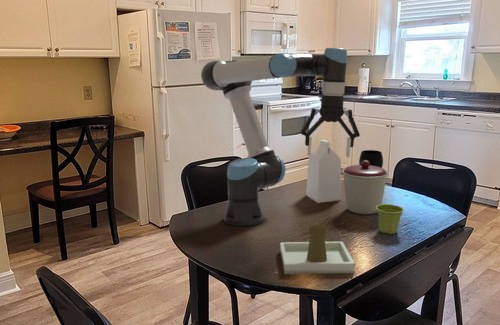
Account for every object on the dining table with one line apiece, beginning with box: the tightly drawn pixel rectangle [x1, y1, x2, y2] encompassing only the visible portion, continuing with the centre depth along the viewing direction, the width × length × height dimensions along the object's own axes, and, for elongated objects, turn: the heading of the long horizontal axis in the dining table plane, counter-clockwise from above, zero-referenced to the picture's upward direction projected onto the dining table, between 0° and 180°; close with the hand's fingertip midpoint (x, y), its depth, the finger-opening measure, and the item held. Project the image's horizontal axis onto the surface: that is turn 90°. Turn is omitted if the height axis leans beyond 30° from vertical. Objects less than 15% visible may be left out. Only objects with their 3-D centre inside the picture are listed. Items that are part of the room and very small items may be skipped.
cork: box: [307, 222, 327, 263], centre depth 131 cm, size 6×6×11 cm
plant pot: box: [376, 203, 405, 235], centre depth 156 cm, size 9×9×9 cm
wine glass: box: [358, 149, 384, 168], centre depth 199 cm, size 10×10×20 cm
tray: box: [279, 241, 356, 275], centre depth 132 cm, size 20×16×3 cm
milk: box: [305, 139, 342, 204], centre depth 195 cm, size 12×12×26 cm
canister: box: [341, 160, 389, 215], centre depth 177 cm, size 18×18×21 cm
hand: (328, 155), depth 153 cm, fingers open, 13 cm apart
